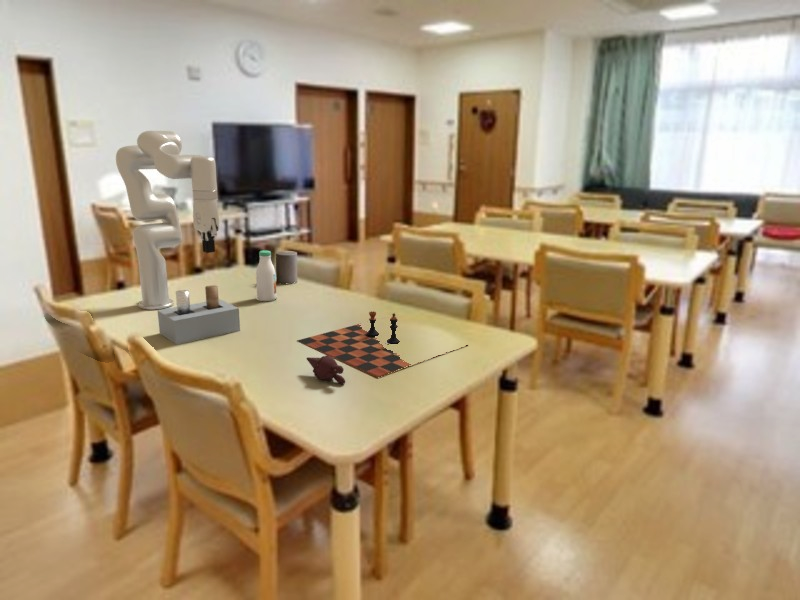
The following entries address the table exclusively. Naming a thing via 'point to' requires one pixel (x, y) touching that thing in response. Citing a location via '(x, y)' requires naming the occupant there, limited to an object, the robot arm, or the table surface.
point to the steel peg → (183, 302)
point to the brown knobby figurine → (326, 368)
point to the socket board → (198, 322)
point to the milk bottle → (265, 278)
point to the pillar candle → (286, 267)
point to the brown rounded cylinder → (212, 297)
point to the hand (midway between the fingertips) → (209, 251)
